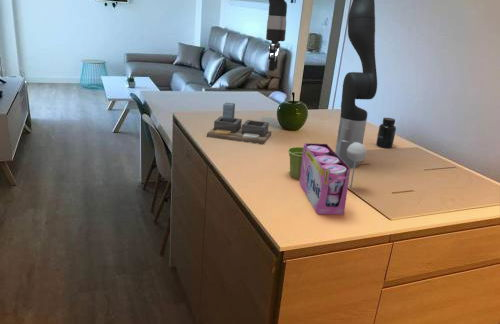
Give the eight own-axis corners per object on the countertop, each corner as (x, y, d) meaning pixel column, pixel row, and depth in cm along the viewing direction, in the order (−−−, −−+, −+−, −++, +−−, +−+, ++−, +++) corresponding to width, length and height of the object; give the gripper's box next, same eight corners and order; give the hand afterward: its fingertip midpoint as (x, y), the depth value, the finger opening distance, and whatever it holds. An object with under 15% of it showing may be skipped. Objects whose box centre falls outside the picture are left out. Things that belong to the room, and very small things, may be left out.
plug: (231, 130, 190) (232, 105, 186) (222, 129, 190) (223, 104, 187) (233, 128, 193) (235, 103, 190) (224, 127, 194) (225, 102, 190)
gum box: (346, 217, 122) (353, 171, 118) (318, 217, 121) (324, 170, 117) (322, 183, 145) (327, 143, 140) (298, 183, 143) (303, 142, 139)
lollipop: (347, 182, 146) (353, 139, 141) (363, 188, 143) (371, 143, 138) (337, 187, 142) (344, 142, 137) (354, 193, 138) (362, 147, 133)
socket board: (263, 144, 180) (265, 131, 178) (206, 136, 184) (207, 123, 182) (271, 134, 194) (272, 122, 192) (218, 127, 199) (218, 115, 197)
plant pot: (315, 173, 153) (318, 149, 150) (311, 183, 144) (314, 157, 141) (288, 169, 155) (290, 145, 152) (282, 178, 146) (285, 153, 143)
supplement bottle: (374, 146, 188) (379, 118, 184) (377, 142, 194) (382, 115, 190) (390, 149, 186) (396, 121, 181) (393, 145, 191) (399, 118, 187)
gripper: (283, 29, 169) (280, 72, 174) (287, 28, 183) (284, 69, 187) (264, 27, 170) (261, 70, 175) (269, 27, 184) (266, 67, 189)
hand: (273, 69), depth 181 cm, fingers open, 8 cm apart
